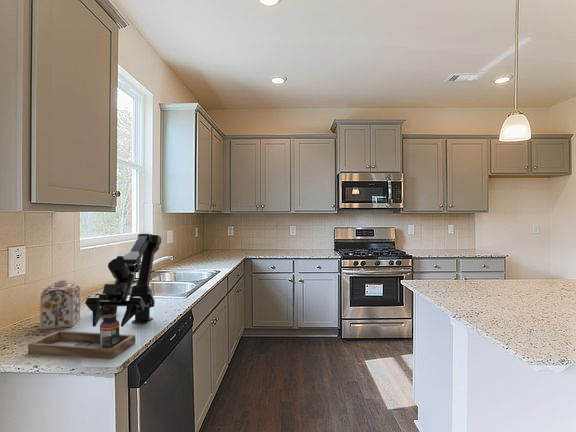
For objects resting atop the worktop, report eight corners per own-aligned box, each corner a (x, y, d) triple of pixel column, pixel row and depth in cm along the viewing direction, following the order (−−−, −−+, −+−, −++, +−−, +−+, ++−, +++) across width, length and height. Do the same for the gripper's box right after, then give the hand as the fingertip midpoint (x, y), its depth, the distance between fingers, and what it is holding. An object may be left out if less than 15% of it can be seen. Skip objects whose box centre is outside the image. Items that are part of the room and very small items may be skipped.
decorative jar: (49, 320, 143) (49, 279, 143) (80, 318, 147) (80, 277, 147) (39, 330, 132) (39, 284, 132) (73, 327, 136) (73, 283, 136)
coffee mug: (122, 313, 155) (122, 292, 155) (102, 317, 148) (102, 295, 148) (112, 308, 163) (112, 288, 162) (93, 312, 156) (93, 290, 156)
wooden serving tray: (59, 338, 124) (59, 330, 124) (135, 343, 120) (135, 335, 120) (28, 353, 111) (28, 344, 111) (111, 359, 107) (111, 349, 107)
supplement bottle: (107, 344, 118) (107, 312, 118) (123, 345, 117) (123, 313, 117) (95, 351, 112) (96, 317, 112) (112, 352, 111) (112, 318, 111)
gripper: (88, 274, 118) (69, 314, 107) (142, 274, 119) (129, 314, 108) (99, 291, 126) (82, 330, 115) (150, 291, 127) (138, 330, 116)
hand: (107, 326), depth 113 cm, fingers open, 9 cm apart
